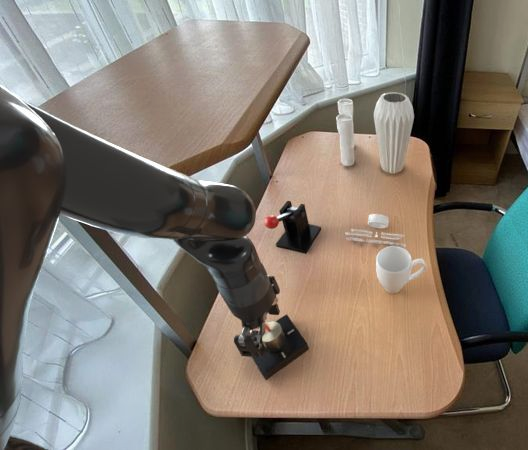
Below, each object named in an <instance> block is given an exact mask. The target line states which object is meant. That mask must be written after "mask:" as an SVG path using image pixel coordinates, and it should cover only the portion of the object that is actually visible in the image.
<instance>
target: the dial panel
mask: <svg viewBox="0 0 528 450" xmlns="http://www.w3.org/2000/svg"><path fill="white" fill-rule="evenodd" d="M274 321H275V322H278V323H279V324H280V326H281V328H282V330H283V333H284V335H285V337H286V343H285V345H284V347H283V348H282V349H281V350H280V351H278V352H273V353H272V352H268V351H267V352H266V355H263V356H257V357H251V358H252V360H253V362H254V363H255V365H256V367H257V369H258V371H259V372H260V374H261V376H262V377H263V378H264V380H265V381H268V380H269V379H271V378H272V377H273V376H274V375H276V374H278V373H279V372H280V371H282V370H283V369H284V368H286V367H287V366H288V365H290V364H291V363H293V362H294V361H296V360H297V359H298V358H299V357H301V356H302V355H304V354H305V353H307V352H308V351H309V350H310V347H309V344H308V341H306V339H305V337H304V336H303V335H302V334H301V332H300V331H299V330H298V328H297V327H296V325H295V323H293V321H292V319H291V318H290V316H288V314H284V315H282V316H281V317H280V318H278V319H277V320H274ZM253 341H255V342H257V338H256V337H254V339H253Z"/></svg>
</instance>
